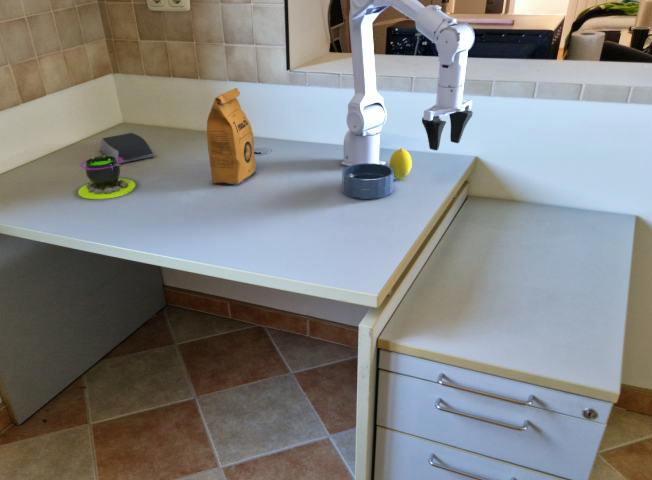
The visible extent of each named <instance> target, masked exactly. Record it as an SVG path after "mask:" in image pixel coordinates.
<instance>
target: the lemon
mask: <svg viewBox="0 0 652 480" xmlns="http://www.w3.org/2000/svg"><path fill="white" fill-rule="evenodd" d="M391 154H392V155H391V156H390V159H389V164H388V166H389V167H391V168H393V170H394V178H396V179H397V180H398V181H401V180H402V179H403V178H406V177H408V175H409V174H410V172H411V170H412V167H413V166H412V164H413V162H412V156H411V154H410V153H409V152H408V150H406V149H404V148H403V147H402V148H399V149H397V150H395V151H394V152H393V153H391Z"/></svg>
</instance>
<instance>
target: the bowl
mask: <svg viewBox="0 0 652 480" xmlns="http://www.w3.org/2000/svg"><path fill="white" fill-rule="evenodd" d="M394 183H395V177H394V170H393V168H391V167H389V165H387V164H384V165H383V164H376V163H363V164H356V165H351V166H346V167H345V168H343V169H342V171H341V190H342V192H343V193H344V195H346V196H348V197H350V198H354V199H358V200H359V199H360V200H374V199H381V198H384V197H386V196H388V195H390V194H391V193H393V191H394V186H395V185H394Z"/></svg>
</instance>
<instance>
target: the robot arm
mask: <svg viewBox="0 0 652 480" xmlns="http://www.w3.org/2000/svg"><path fill="white" fill-rule="evenodd" d="M349 5H350V6H349V14H348V15H349V16H348V25H349V37H350V38H349V39H350V50H351V64H352V76H353V86H354V87H353V89H354V95H353V96H352V98H351V99H350V100H349V102H348V104H347V114H346V125H347V128H348V130H347V132H346V133H345V135H344V138H343V161H342V162H341V165H343V166H346V167H349V166H351V165H356V164H363V163H376V164H383V165H387V163H386V161H383V160H380V141H381V139H380V138H381V131H382V130H383V126H384V125H385V124H386V122H387V118H388V113H387V109H386V107H385V104H384V97H383V96H382V95H381V94H379V92H378V91H377V84H376V83H377V81H376V80H377V79H376V65H375V64H376V63H375V52H374V49H375V48H374V37H373V36H374V34H373V24H374V23H373V22H374V21H375V20H376V19H377V17H378V16H379V15H380V14H381V13H382V12H383V11H385V10H386V9H387V8H389V7H392V8H393V9H395V10H396V11H398V12H400V13H401V14H402V15H404V16H406V17H407V18H409V19H411V20H412V21H414V22H415V29H416V30H417V32H419V33H420V34H421V35H423V36H424V37H426V39H428V40H429V41H431V42H432V43H433V44H435V48H436V51H437V53H438V62H439V66H438V67H439V68H438V80H437V88H436V89H437V90H436V101H435V104H434V105H432V106H431V107H430V108H428V109H426V110H423V117H422V118H421V123H422V125H423V127H424V129H425V132H426V136H427V140H428V141H427V142H428V146H429V150H433V151H438V150H439V148H440V145H441V138H442V134H443V130H444V129H445V125H446V124H447V121H446V120H441V119H442V118H441V117H444V116H447V115H449V120H450V135H449V137H450V142H451V143H454V144H459V143H460V141H461V139H462V136H463V133H464V131H465V129H466V126H467V125H468V122H469V121H470V119H471V118H472V117H473V113H474V112H473V111H472V110H471V109H472V106H473V100H472V99H467V98H464V99H463V96H464V87H465V77H466V70H467V69H466V68H467V63H468V62H467V61H468V52H469V51H470V50H471V49H472V47H473V46H474V43H475V37H476V36H475V31H474V29H473V27H472V26H471V25H470V24H469V23H468V22H460V23H458V21H457V18H455V17H450V15H448V14H446V13H445V12H444V11H442V10H441V9H442V6H440V5H438V4H429V5H427V6H425V5H424V4H422V3H421V2H420V1H419V0H349Z"/></svg>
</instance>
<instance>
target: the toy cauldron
mask: <svg viewBox="0 0 652 480" xmlns="http://www.w3.org/2000/svg"><path fill="white" fill-rule="evenodd" d="M96 146H99V144H97V145H96ZM105 146H106V145H105ZM101 150H103V149H100V148H99V149H95V148H94V149H92V152H95V151H101ZM110 150H111V149H110ZM112 151H113V150H112ZM92 152H91V153H90V154H91V155H93V153H92ZM88 153H89V151H88V152H86V154H88ZM86 154H83V157H84V158H86V160H83V161H81V162H80V163H79V164H78V167H79V168H81V169H83V170H85V173H86V177H87V178H88V180H89V183H87V184H84V185H82V186H81V187H80V188H79V189H78V191H77V194H78V196H79V197H81V198H83V199H87V200H107V199H113V198H118V197H121V196H125V195H126V194H129V193H131V192H132V191H133V190H134V189H135V188H136V183H135V182H134V180H132V179H129V178H120V175H121V168H123V165H122V163H121V161H122V162H123V159H122V158H121V159H120V158H119V156H118V157H116V156H115V157H114V156H113V157H112V156H105V155H100V156H95V157H93V156H92V157H90V158H88V159H87V156H86ZM113 154H114V153H113ZM116 158H117V159H119V161H120V160H121V161H120V162H117V161H116ZM84 164H85V166H84Z"/></svg>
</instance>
